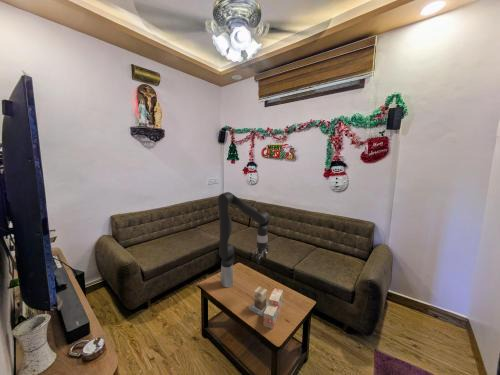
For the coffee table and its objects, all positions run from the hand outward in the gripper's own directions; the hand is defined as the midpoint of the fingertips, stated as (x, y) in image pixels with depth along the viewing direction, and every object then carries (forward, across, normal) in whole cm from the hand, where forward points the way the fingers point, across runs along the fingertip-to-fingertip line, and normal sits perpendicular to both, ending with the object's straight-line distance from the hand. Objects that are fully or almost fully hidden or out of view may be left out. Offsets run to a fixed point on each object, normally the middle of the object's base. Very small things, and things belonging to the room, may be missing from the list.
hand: (261, 261), depth 149 cm
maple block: (+21, +10, +6) cm, 24 cm away
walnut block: (+27, +10, +6) cm, 29 cm away
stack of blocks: (+28, +10, +17) cm, 34 cm away
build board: (+28, +10, +6) cm, 30 cm away
